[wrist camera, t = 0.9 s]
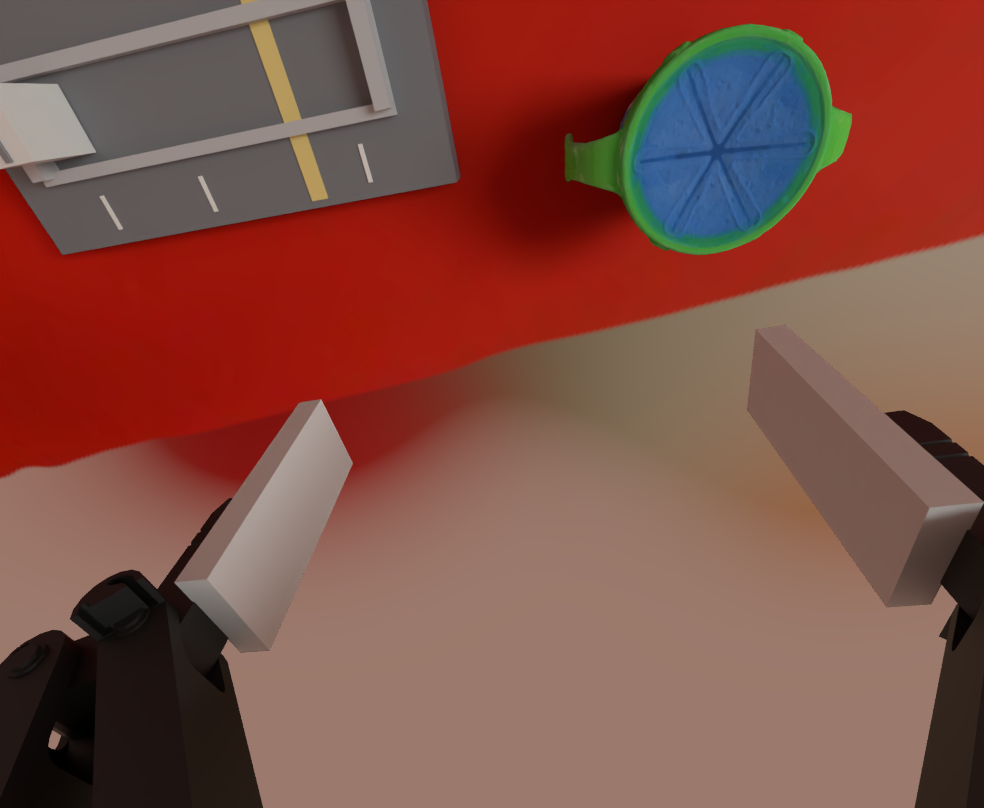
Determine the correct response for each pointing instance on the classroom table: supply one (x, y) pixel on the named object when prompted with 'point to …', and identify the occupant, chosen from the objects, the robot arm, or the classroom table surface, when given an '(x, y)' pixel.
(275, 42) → the panel
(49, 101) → the fader tab
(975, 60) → the classroom table surface
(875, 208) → the classroom table surface
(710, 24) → the classroom table surface
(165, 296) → the classroom table surface
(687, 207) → the snack cup
